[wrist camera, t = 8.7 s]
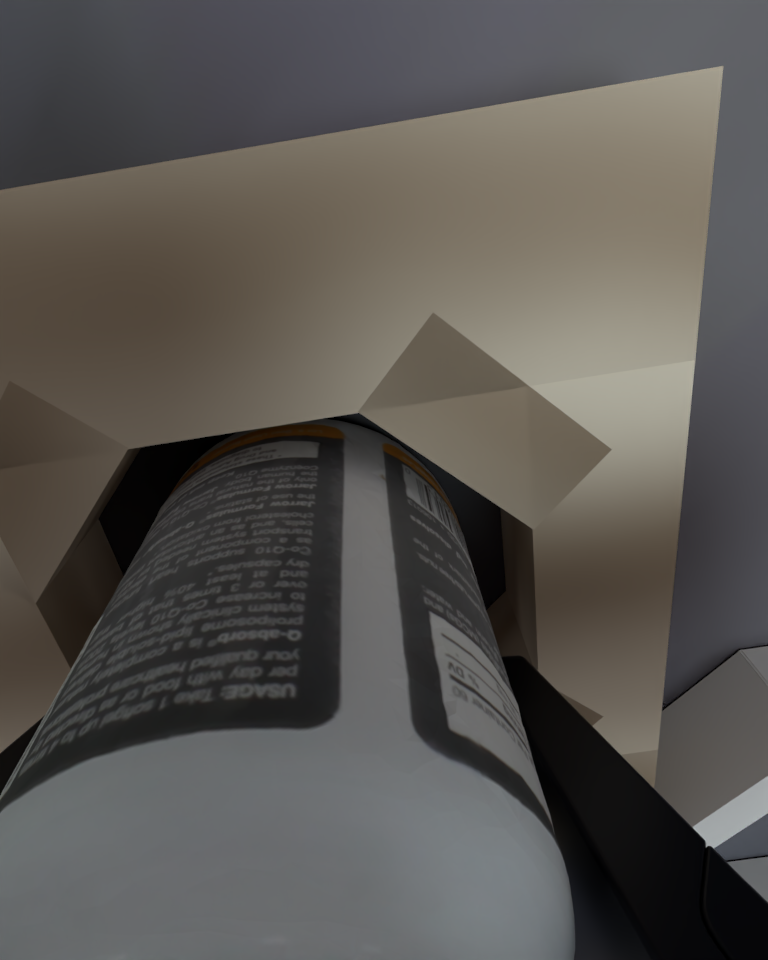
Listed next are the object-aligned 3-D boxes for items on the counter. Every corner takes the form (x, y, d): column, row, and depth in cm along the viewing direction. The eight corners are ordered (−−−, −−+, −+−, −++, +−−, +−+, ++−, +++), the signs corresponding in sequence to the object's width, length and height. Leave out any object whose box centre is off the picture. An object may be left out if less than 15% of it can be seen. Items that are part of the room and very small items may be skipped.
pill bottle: (163, 633, 13) (-278, 1695, 4) (174, 378, 10) (-1050, 1780, 1) (423, 665, 13) (556, 1617, 5) (494, 433, 11) (1107, 1566, 2)
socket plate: (604, 749, 15) (648, 849, 13) (138, 813, 15) (101, 922, 13) (626, 93, 8) (723, 65, 6) (-182, 231, 9) (-360, 251, 7)
